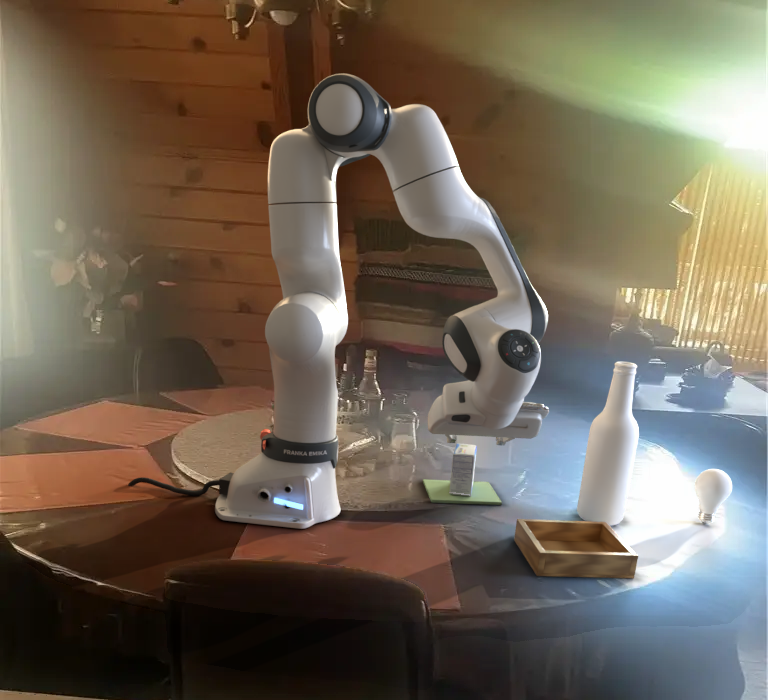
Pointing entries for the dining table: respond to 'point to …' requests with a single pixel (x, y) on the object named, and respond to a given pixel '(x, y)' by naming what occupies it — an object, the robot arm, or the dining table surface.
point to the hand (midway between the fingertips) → (475, 440)
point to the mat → (479, 495)
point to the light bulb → (711, 493)
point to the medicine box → (463, 469)
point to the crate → (574, 549)
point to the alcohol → (610, 453)
